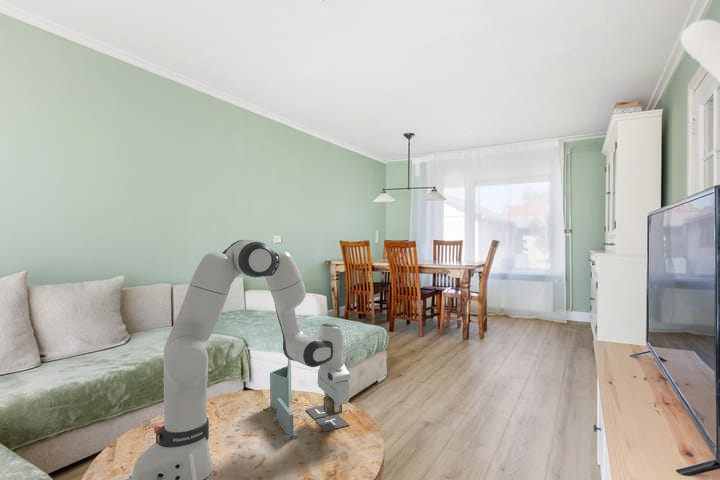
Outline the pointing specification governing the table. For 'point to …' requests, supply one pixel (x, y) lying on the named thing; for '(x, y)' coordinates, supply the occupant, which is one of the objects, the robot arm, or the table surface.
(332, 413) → the cube
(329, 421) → the pad
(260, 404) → the table surface
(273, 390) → the planter
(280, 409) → the screen
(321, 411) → the pad
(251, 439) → the table surface
